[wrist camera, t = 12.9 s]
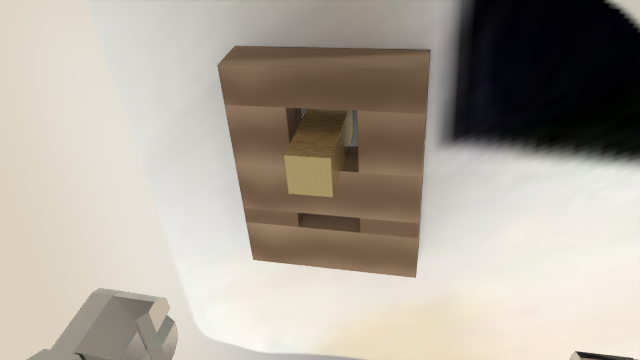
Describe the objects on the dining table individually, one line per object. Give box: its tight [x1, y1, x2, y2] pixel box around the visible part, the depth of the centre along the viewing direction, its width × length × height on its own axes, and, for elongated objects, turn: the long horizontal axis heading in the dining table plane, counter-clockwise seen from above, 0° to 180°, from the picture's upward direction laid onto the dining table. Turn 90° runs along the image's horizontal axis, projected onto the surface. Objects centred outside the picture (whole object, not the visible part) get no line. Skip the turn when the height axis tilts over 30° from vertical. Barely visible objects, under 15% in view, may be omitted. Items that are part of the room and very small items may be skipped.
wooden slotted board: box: [217, 46, 430, 278], centre depth 41 cm, size 18×14×4 cm
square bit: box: [284, 109, 353, 197], centre depth 37 cm, size 3×3×8 cm
